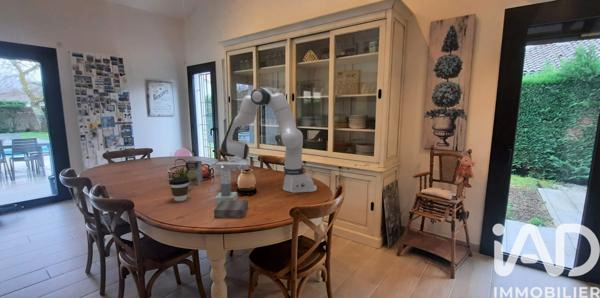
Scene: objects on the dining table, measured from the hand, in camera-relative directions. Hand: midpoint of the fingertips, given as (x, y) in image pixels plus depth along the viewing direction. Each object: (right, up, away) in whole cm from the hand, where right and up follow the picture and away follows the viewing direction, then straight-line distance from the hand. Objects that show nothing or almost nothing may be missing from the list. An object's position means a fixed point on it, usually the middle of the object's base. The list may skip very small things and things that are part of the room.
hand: (229, 168), depth 169 cm
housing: (+1, -14, -10) cm, 18 cm away
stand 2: (+8, -21, -26) cm, 34 cm away
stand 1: (+1, -18, -10) cm, 21 cm away
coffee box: (-32, -13, +28) cm, 44 cm away
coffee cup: (-27, -18, -6) cm, 33 cm away
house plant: (-34, -15, +12) cm, 39 cm away
